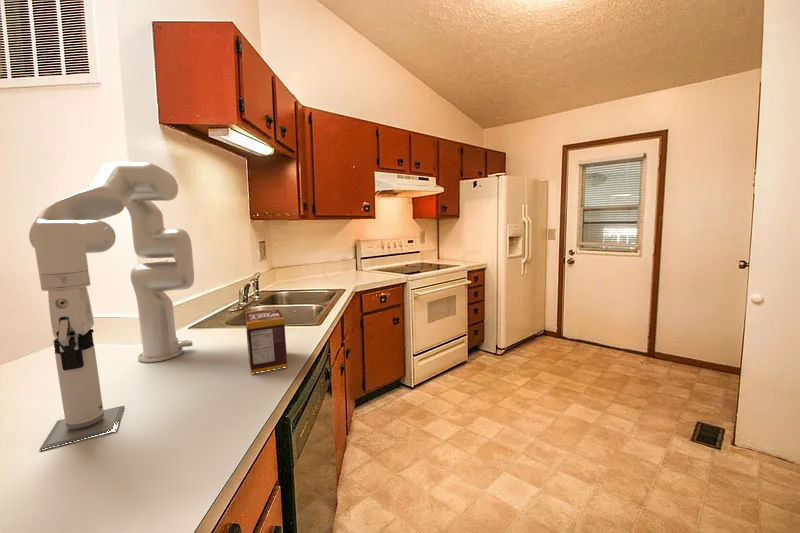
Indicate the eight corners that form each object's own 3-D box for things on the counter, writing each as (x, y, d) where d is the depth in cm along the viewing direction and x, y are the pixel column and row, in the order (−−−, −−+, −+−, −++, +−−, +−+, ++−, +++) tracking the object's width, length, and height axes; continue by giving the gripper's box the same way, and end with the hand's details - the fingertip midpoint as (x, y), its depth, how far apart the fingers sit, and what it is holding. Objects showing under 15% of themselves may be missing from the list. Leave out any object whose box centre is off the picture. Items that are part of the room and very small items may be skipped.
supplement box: (281, 352, 121) (278, 307, 119) (287, 368, 107) (284, 318, 105) (248, 357, 117) (244, 311, 115) (250, 375, 103) (246, 323, 101)
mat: (124, 407, 86) (124, 404, 86) (116, 431, 76) (116, 429, 76) (57, 422, 80) (57, 420, 80) (39, 451, 70) (39, 448, 70)
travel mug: (112, 415, 80) (100, 329, 77) (78, 431, 74) (64, 339, 71) (94, 410, 82) (82, 327, 80) (59, 426, 76) (45, 336, 73)
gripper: (79, 284, 68) (92, 373, 71) (97, 273, 83) (107, 347, 85) (25, 289, 65) (40, 382, 67) (54, 277, 79) (65, 353, 82)
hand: (77, 362), depth 76 cm, fingers closed on travel mug, 6 cm apart
